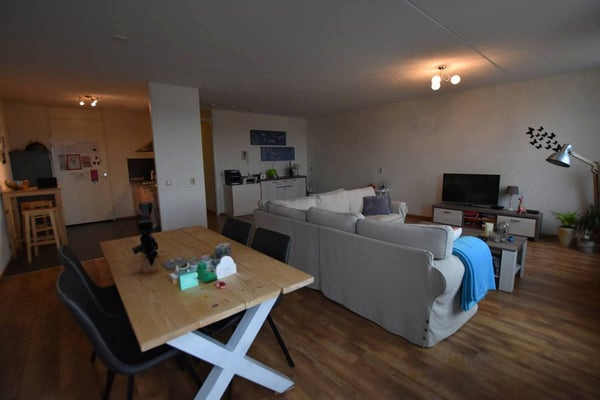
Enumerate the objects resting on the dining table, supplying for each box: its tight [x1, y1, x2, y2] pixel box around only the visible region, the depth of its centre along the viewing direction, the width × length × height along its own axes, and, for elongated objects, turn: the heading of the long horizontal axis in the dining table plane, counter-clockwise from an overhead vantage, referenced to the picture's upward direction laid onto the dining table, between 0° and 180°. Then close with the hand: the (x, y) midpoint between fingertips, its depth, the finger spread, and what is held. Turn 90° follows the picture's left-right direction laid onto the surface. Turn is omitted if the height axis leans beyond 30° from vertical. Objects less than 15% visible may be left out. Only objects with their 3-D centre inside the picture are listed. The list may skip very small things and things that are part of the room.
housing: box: [140, 257, 159, 273], centre depth 178 cm, size 5×8×7 cm, turn 131°
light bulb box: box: [214, 242, 232, 257], centre depth 190 cm, size 11×7×11 cm, turn 168°
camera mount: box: [195, 261, 218, 283], centre depth 162 cm, size 12×8×10 cm, turn 46°
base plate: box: [160, 257, 189, 271], centre depth 186 cm, size 14×14×4 cm
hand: (149, 263), depth 178 cm, fingers open, 9 cm apart
